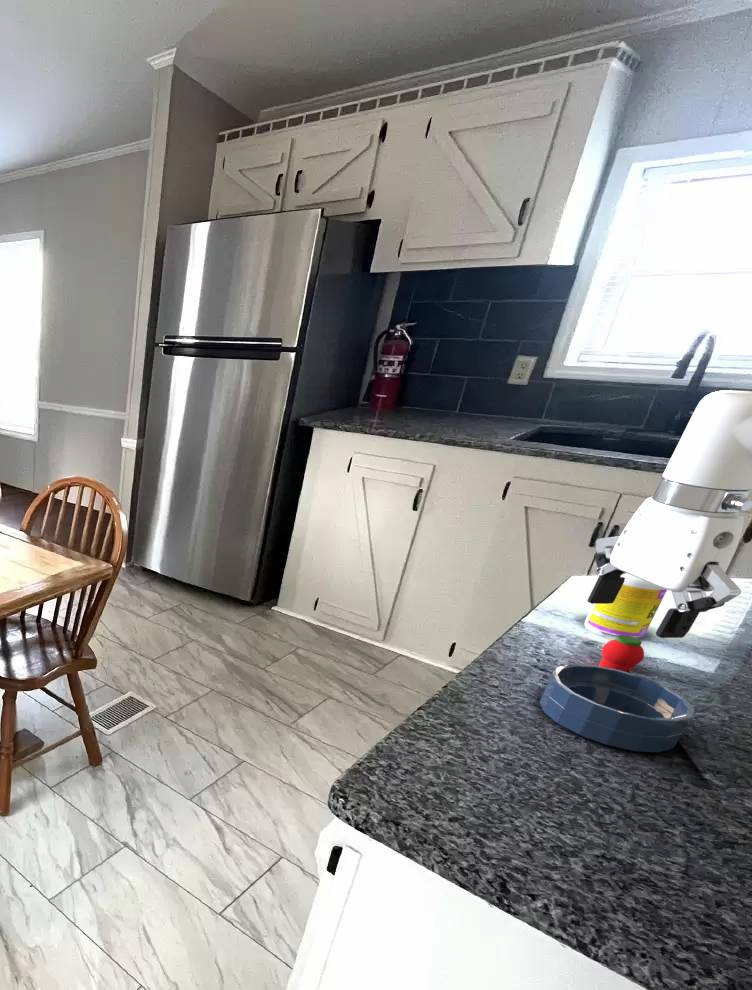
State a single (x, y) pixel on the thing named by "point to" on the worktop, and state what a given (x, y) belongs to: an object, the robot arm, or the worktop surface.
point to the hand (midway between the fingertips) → (632, 618)
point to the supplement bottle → (627, 609)
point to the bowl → (616, 707)
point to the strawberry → (622, 653)
